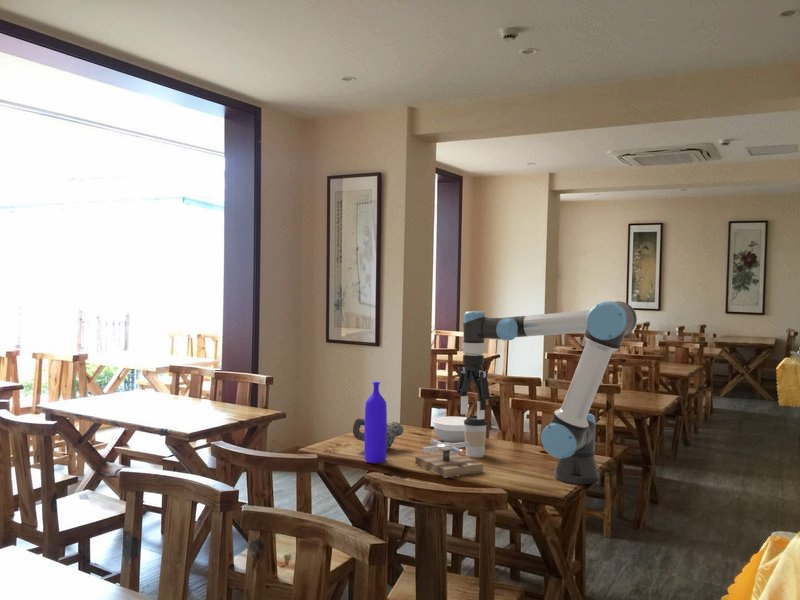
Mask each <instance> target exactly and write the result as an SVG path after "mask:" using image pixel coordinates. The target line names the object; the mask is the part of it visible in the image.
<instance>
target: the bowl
mask: <svg viewBox="0 0 800 600" xmlns="http://www.w3.org/2000/svg"><path fill="white" fill-rule="evenodd" d="M467 417H468V416H467ZM467 417H465V416H448V415H447V416H440V417H435V418H433V420H432V426H433V430H434V432H435V434H436V435H437V437H438V438H439V439H441V442H442V443H461V442H465V432H464V429H465V425H464V420H466V419H467Z"/></svg>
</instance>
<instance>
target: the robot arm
mask: <svg viewBox="0 0 800 600" xmlns="http://www.w3.org/2000/svg"><path fill="white" fill-rule="evenodd" d="M637 321H638V318H637V313H636V311H635V309H634V308H633V307H632V306H631V304H629V303H626V302H625V301H621V300H620V301H619V300H618V301H608V300H607V301H602V302H600V303H597V304H596V305H594V306H593V307H592V308H591V309H587V310H576V311H575V310H574V311H565V312H553V313H544V314H543V313H542V314H531V315H521V316H520V315H518V316H510V317H508V316H507V317H486V313H485V312H484V311H479V310H478V311H477V310H476V311H475V310H474V311H472V310H471V311H465V312H464V314H463V323H462V325H463V340H462V341H463V342H462V353H463V355H462V365H463V366H464V367H459V376H458V381H457V388H456V394H459V396H460V400H459V401H460V415H468V414H469V394H468V392H469V389H470V387H471V384H472V383H473V384H474V387H475V390H476V394H477V397H478V399H477V403H476V405H477V406H476V407H477V410H476V413H477V414H476V416H477V419H484V420H485V419H486V418H485V416H486V415H485V413H486V401H488V400H490V399H491V398H490V391H489V381H488V371H484V370H483V369H482V366H484V364H485V356H484V353H485V340H486V339H488V340H489V339H490V340H500V341H501V340H502V341H512V340H515V338H525V337H535V336H536V337H537V336H538V337H541V336H550V335H551V336H552V335H553V336H555V335H568V334H584V335H583V336H584V339H585V341H586V343H585V345H584V348H583V350H582V353H581V355H580V358H579V361H578V364H577V366H576V368H575V371H574V374H573V376H572V379H571V380H570V383H569V386H568V389H567V392H566V394H565V397H564V399H563V402H562V403H561V407H560V408H557V409H555V410H554V412H553V414H552V417H551V420H550V422H549V424H547V425H546V426H545V427H544V428H543V430H542V432H541V436H540V437H541V438H540V439H541V440H540V441H541V444H542V447H543V449H544V451H545V452H546V453H547V454H548V455H550V456H552V457H554V458H555V459H558V461H557V464H556V467H555V468H554V477H555V479H557V480H558V479H559V481H561V482H564V481H565V482H564V483H568V482H569V484H576V485H578V484H579V485H588V484H595V483H598V482H599V481H600V472H599V470H598V465H597V461H596V457H595V456H596V455H595V452H596V449H595V447H596V446H595V445H596V426H597V424H596V417H595V415H594V414H592V413H589V412H590V409H591V406H592V404H593V403H594V399H595V397H596V394H597V392H598V390H599V387H600V385H601V382H602V379H603V377H604V375H605V371H606V369H607V367H608V365H609V361H610V360H611V357H612V354H613V353H614V352H616V351H618V350H620V347H621V345H622V344H623V341H624V338H625V336H628V335H630V334H631V333H632V332H633V331H634V329H635V327H636V325H637Z"/></svg>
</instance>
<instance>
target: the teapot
mask: <svg viewBox="0 0 800 600" xmlns="http://www.w3.org/2000/svg"><path fill="white" fill-rule="evenodd" d="M361 426H364V427H365V417H358V418H356V419H354V422H353V426H352V434H353V436H354V438H355V439H356V440H357V441H361V442H364V439H365V431H364V432H363V431H362V432H361V431H360V428H361ZM404 431H405V428H404V426H403V425H402V424H401V423H400V422H398V421H391V422H387V438H386V450H388V449H389V448H391V447H392V444H393V443H394V442H395V439H396V438H397V437H399V436H400V437H401V436H402V434H403V433H404Z"/></svg>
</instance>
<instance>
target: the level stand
mask: <svg viewBox="0 0 800 600" xmlns="http://www.w3.org/2000/svg"><path fill="white" fill-rule="evenodd" d="M414 459H415V462H414V463H415V464H417V465H419V466H418V467H420V466H421V467H420V468H422V467H424V468H426V469H428V470H431V471H433V472H436V473H438V474H440V475H442V476H443V477H442V476H441V477H442V478H444V479H449V478H448V477H450V478H452V477H451V476H457V475H463V476H467V475H466V474H469V475H474V474H480V473H483V472H484V471H483V469H484V464H483V463H481V462H478V461H475V460H474V459H471V458H470V457H467V456H465V455H464V456H460V455H459V454H456V453H454V452H451V451H442V452H439V453H432V454H423V455H417V456H415V458H414ZM417 465H416V466H417ZM424 468H423V469H424ZM426 469H425V470H426ZM428 470H427V471H428ZM431 471H430V472H431ZM433 472H432V473H433ZM457 477H458V476H457Z"/></svg>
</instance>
